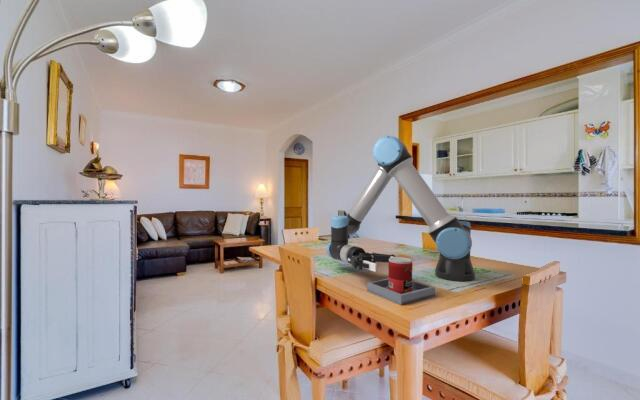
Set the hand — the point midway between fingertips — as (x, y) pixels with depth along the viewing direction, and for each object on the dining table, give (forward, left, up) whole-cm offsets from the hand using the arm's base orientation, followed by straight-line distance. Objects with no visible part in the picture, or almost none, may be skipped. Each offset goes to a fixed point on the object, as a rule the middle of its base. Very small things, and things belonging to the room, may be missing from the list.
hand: (390, 265), depth 108 cm
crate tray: (-4, +2, -9) cm, 10 cm away
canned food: (-4, +2, -8) cm, 9 cm away
